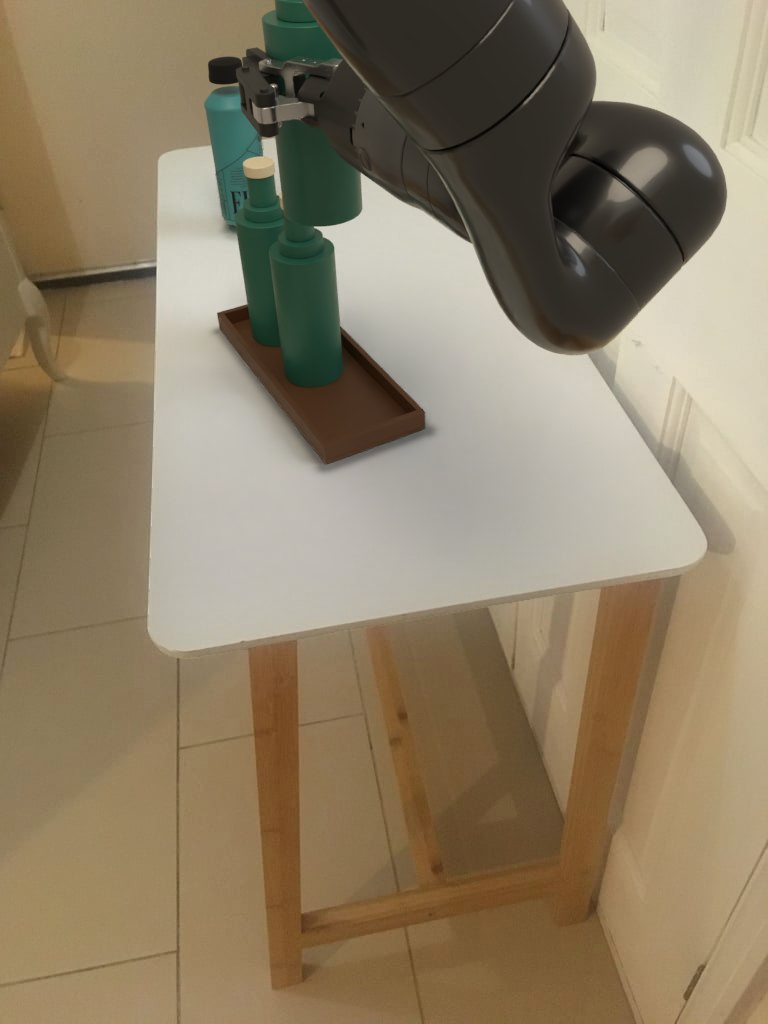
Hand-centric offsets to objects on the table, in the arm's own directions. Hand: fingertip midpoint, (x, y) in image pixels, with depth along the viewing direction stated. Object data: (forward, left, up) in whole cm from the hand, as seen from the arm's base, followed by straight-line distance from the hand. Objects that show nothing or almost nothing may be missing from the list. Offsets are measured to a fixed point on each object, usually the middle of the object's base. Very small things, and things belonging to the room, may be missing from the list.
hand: (296, 56), depth 60 cm
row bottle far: (-10, +13, -31) cm, 35 cm away
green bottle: (+2, -2, -10) cm, 10 cm away
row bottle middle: (-4, +7, -31) cm, 32 cm away
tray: (-4, +7, -31) cm, 33 cm away
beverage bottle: (-24, +37, -32) cm, 54 cm away
